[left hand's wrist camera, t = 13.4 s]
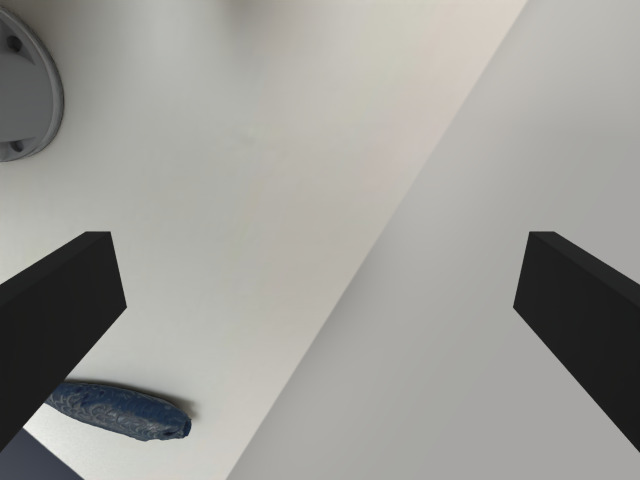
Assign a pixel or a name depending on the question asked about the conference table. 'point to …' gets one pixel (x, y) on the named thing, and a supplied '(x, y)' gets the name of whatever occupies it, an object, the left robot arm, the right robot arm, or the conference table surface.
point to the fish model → (121, 411)
